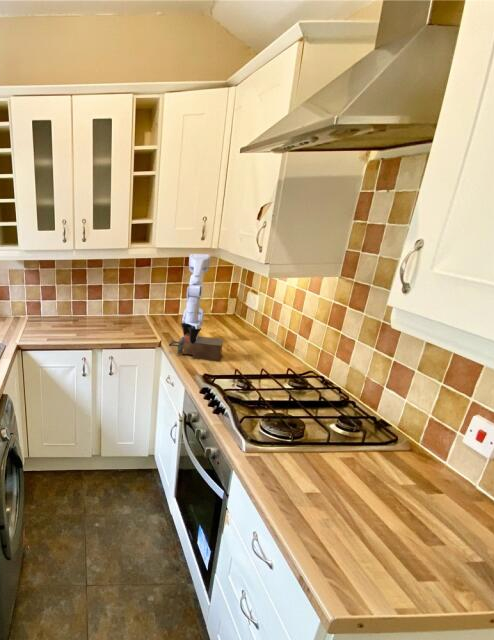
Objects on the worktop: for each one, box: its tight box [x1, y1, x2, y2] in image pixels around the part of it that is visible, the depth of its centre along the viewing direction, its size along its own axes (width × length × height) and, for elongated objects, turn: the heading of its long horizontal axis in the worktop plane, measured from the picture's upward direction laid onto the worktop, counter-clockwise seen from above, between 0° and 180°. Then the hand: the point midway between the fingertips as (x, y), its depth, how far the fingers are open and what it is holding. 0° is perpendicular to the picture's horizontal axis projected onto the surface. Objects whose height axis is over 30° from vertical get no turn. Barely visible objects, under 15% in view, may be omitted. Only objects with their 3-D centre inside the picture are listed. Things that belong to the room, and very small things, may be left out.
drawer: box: [168, 336, 196, 356], centre depth 195 cm, size 15×9×6 cm, turn 66°
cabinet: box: [192, 336, 224, 362], centre depth 192 cm, size 12×11×8 cm
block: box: [183, 333, 194, 343], centre depth 193 cm, size 4×4×4 cm
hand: (189, 340), depth 194 cm, fingers closed on block, 5 cm apart
